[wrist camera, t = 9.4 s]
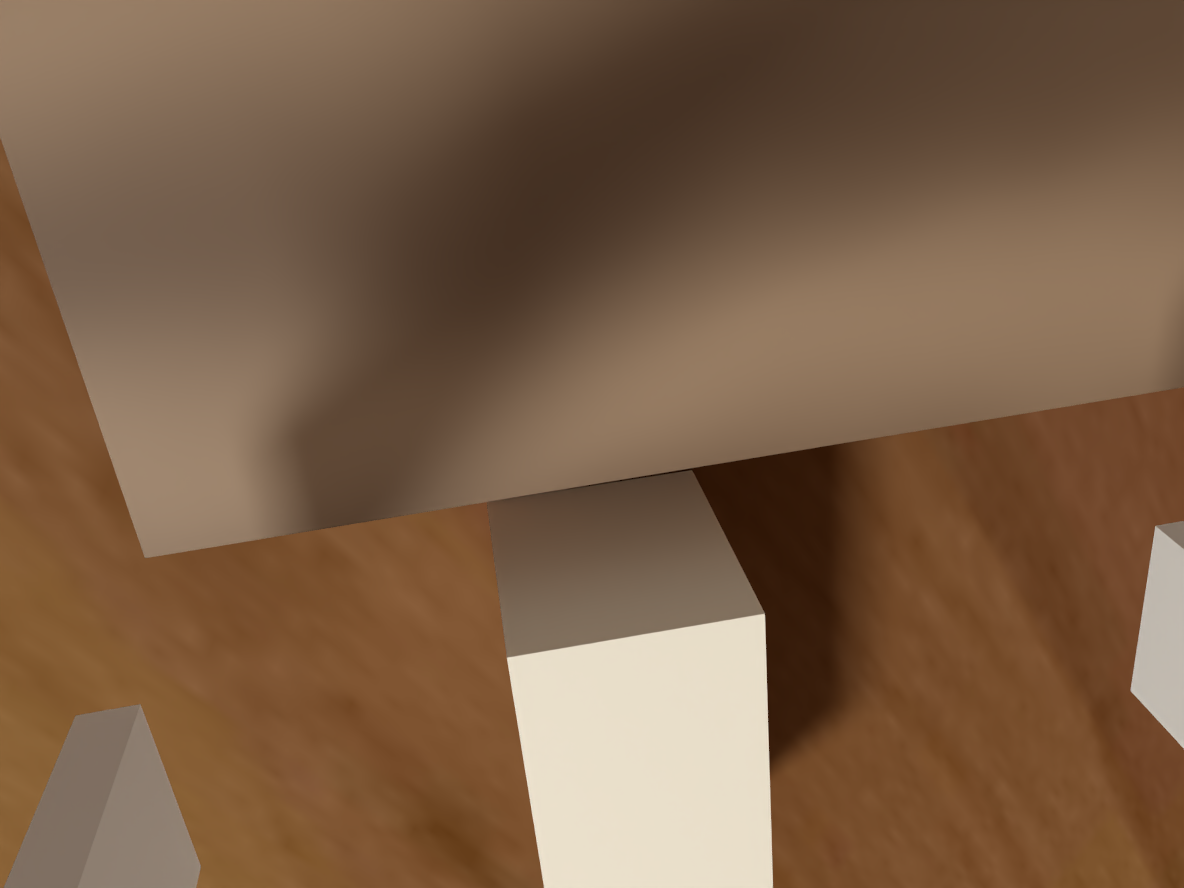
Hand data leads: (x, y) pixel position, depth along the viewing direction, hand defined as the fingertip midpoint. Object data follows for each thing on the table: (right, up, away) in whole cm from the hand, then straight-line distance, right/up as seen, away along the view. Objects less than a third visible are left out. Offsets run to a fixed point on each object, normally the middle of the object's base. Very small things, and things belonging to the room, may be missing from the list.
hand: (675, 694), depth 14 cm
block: (-1, +1, +5) cm, 5 cm away
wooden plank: (+1, +9, +4) cm, 10 cm away
